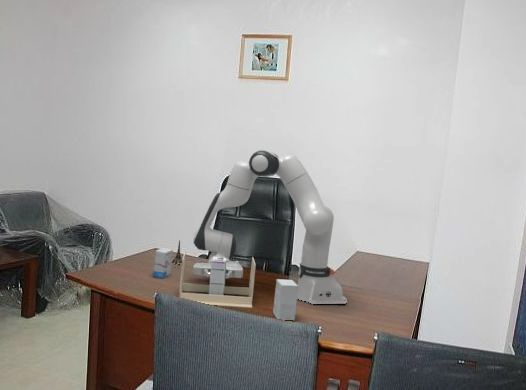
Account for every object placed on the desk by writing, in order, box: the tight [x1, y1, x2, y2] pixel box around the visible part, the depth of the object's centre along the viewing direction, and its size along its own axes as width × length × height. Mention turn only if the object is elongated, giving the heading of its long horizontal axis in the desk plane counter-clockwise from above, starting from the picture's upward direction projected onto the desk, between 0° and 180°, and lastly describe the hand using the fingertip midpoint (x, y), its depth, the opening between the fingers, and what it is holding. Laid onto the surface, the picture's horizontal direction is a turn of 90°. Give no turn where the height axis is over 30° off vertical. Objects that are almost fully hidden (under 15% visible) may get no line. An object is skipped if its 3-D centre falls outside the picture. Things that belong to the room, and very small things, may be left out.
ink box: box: [153, 247, 174, 279], centre depth 209 cm, size 8×5×12 cm, turn 168°
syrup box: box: [208, 257, 227, 296], centre depth 186 cm, size 6×6×14 cm
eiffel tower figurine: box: [172, 239, 183, 268], centre depth 233 cm, size 15×10×13 cm
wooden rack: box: [178, 251, 257, 309], centre depth 186 cm, size 28×19×16 cm
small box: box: [272, 278, 298, 322], centre depth 172 cm, size 8×6×13 cm
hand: (218, 275), depth 184 cm, fingers closed on syrup box, 6 cm apart
